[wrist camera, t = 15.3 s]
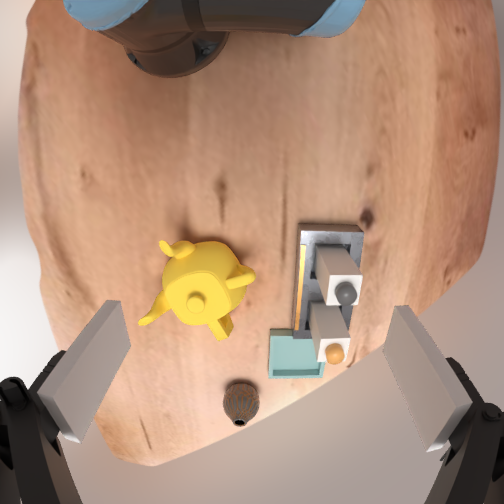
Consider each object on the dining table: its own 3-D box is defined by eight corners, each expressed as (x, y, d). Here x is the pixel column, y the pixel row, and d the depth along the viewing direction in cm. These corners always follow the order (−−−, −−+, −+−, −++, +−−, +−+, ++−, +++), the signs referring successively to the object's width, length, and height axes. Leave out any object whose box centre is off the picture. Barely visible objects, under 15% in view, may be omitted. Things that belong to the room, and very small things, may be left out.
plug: (307, 317, 49) (318, 369, 38) (309, 296, 48) (322, 346, 36) (331, 317, 49) (347, 367, 38) (334, 296, 48) (353, 344, 36)
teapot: (179, 218, 45) (158, 240, 36) (263, 251, 47) (262, 281, 37) (156, 293, 50) (136, 326, 41) (231, 321, 51) (224, 359, 42)
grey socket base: (291, 326, 51) (292, 340, 48) (298, 223, 45) (301, 231, 41) (342, 325, 51) (347, 338, 48) (357, 225, 44) (364, 233, 41)
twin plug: (312, 267, 46) (328, 312, 34) (315, 242, 45) (332, 281, 33) (338, 267, 46) (360, 311, 34) (341, 242, 45) (366, 280, 33)
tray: (268, 371, 55) (268, 378, 53) (270, 328, 52) (270, 335, 50) (320, 370, 55) (322, 377, 53) (328, 328, 51) (330, 335, 49)
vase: (218, 389, 58) (212, 422, 50) (240, 372, 56) (237, 406, 48) (244, 404, 59) (241, 437, 51) (266, 389, 57) (267, 422, 49)
